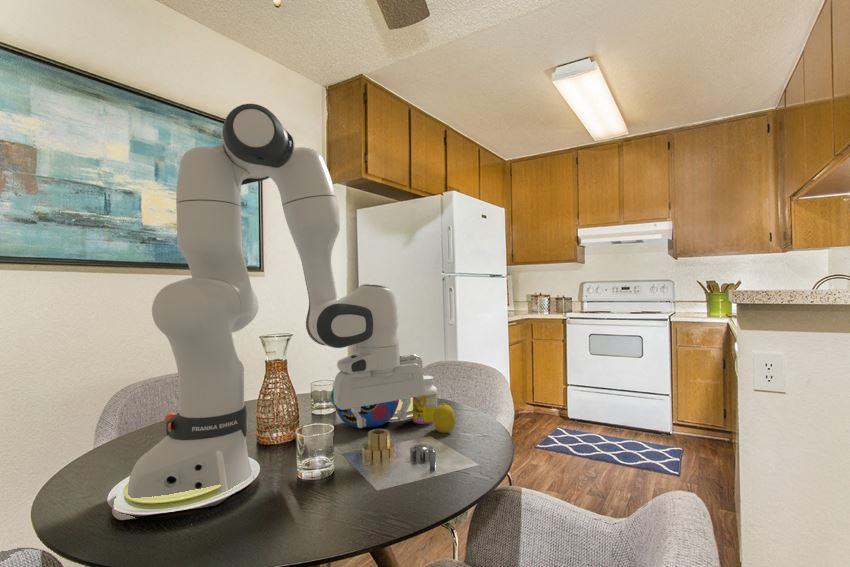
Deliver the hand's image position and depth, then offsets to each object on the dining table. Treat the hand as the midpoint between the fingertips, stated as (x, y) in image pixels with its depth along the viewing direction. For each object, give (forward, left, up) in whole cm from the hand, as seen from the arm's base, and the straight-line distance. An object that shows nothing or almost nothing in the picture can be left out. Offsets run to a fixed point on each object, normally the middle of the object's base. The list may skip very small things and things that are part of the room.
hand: (382, 422), depth 93 cm
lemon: (+19, +6, -8) cm, 22 cm away
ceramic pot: (+5, +23, -8) cm, 25 cm away
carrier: (+3, -6, -8) cm, 10 cm away
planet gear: (-1, 0, -7) cm, 7 cm away
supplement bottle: (+19, +16, -8) cm, 26 cm away
